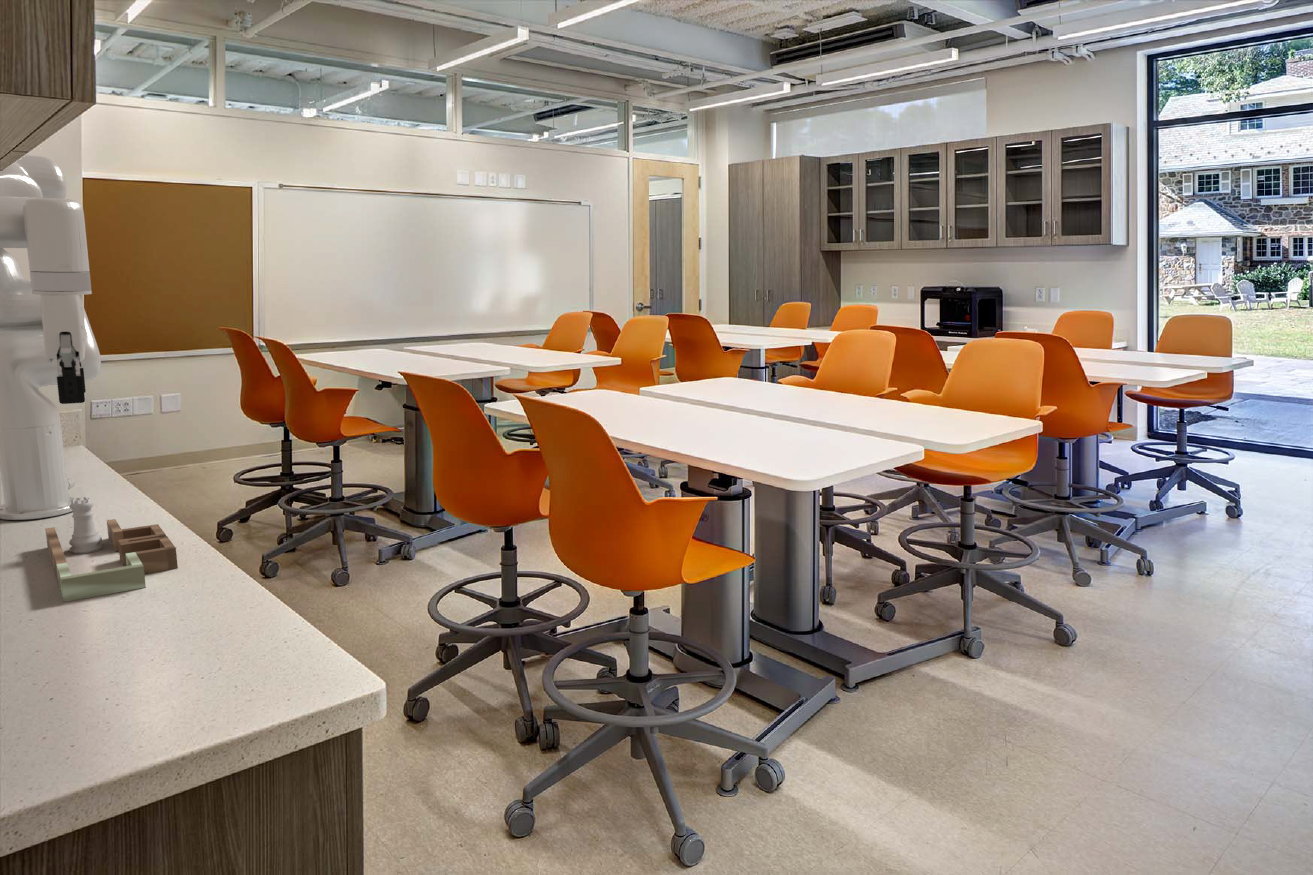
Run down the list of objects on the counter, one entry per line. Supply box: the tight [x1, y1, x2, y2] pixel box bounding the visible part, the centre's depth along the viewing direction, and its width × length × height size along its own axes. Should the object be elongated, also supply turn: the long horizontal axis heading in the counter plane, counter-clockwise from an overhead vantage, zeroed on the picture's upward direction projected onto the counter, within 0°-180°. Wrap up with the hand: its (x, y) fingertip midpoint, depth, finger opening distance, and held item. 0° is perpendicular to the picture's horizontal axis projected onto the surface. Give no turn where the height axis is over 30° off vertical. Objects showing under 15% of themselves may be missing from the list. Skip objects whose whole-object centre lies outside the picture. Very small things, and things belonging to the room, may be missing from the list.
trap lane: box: [44, 518, 179, 602], centre depth 135 cm, size 29×14×3 cm, turn 37°
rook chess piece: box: [68, 496, 104, 555], centre depth 141 cm, size 4×4×8 cm
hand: (73, 398), depth 141 cm, fingers open, 9 cm apart
